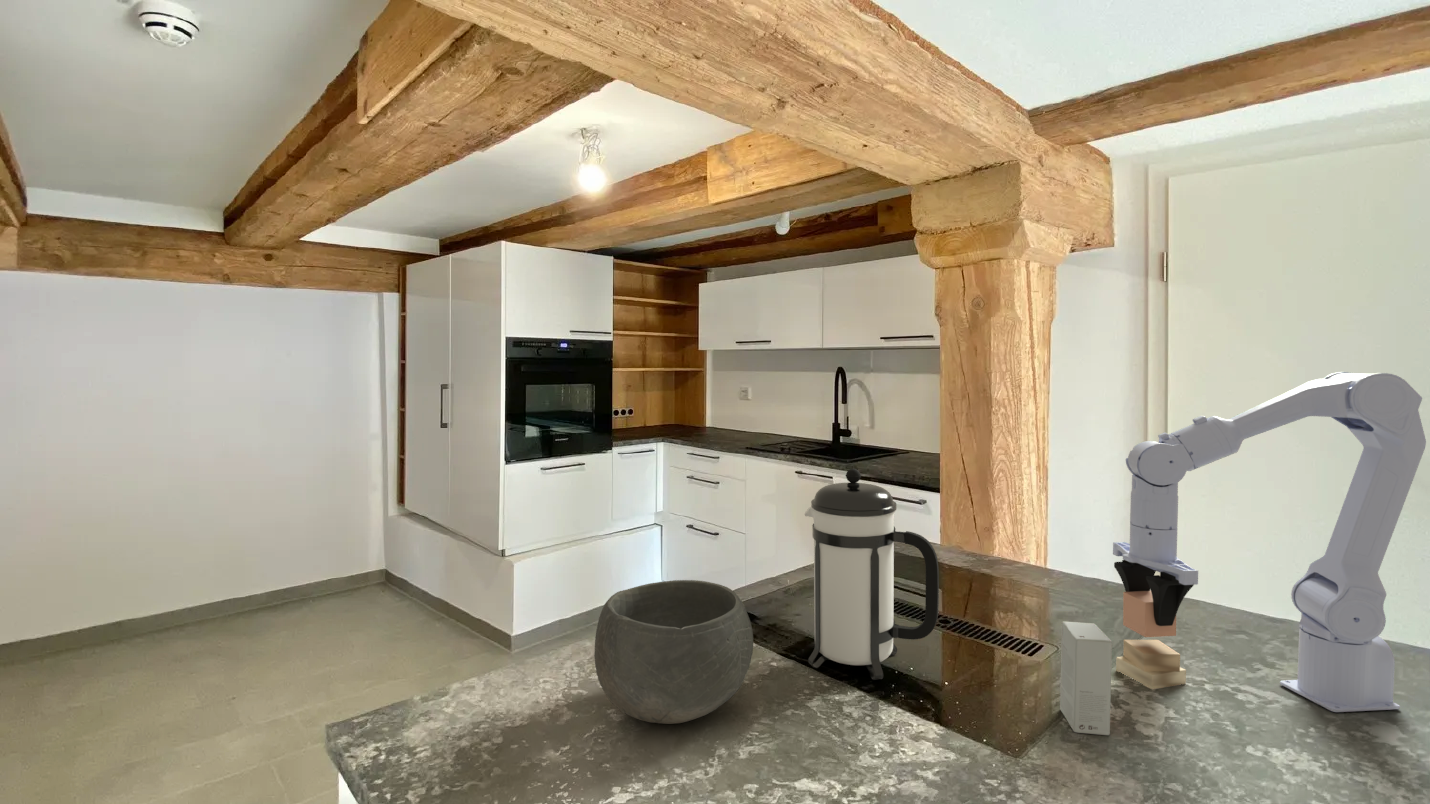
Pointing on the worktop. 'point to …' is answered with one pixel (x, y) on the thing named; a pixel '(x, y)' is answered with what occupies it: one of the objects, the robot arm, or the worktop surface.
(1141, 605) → the cube
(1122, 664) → the tower base
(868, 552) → the coffee press
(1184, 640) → the worktop surface
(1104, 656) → the skincare box
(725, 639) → the bowl
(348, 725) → the worktop surface
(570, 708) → the worktop surface
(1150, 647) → the tower mid
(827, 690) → the worktop surface
